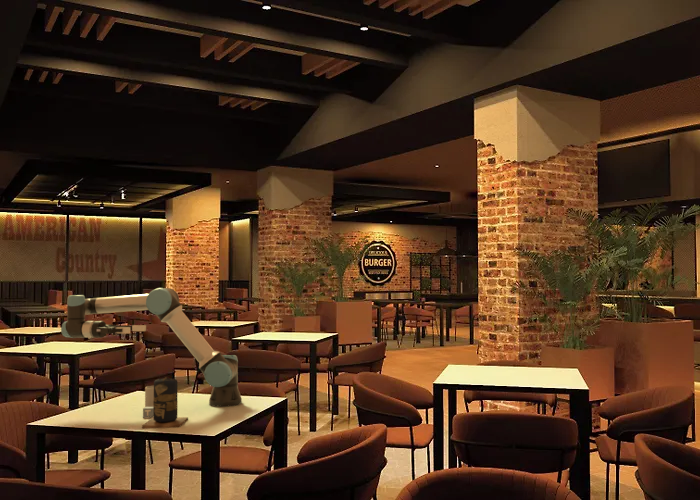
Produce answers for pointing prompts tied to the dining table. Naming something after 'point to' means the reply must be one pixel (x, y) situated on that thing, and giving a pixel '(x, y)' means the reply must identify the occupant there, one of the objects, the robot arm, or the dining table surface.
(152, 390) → the mug
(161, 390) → the canister
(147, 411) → the letter cube
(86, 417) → the dining table surface
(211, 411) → the dining table surface
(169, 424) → the walnut board
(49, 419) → the dining table surface
